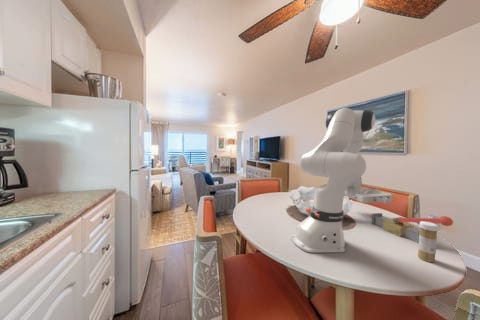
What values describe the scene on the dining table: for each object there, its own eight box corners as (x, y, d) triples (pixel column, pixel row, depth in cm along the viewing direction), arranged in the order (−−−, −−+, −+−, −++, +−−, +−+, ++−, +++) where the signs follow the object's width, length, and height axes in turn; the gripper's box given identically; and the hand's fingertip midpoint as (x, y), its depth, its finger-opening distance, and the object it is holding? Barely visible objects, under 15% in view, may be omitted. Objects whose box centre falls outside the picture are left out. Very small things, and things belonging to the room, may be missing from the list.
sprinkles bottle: (428, 256, 67) (431, 221, 66) (439, 263, 62) (442, 226, 62) (414, 254, 68) (416, 220, 67) (423, 261, 63) (426, 225, 63)
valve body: (418, 244, 75) (419, 232, 74) (369, 223, 96) (370, 213, 96) (432, 243, 76) (433, 230, 76) (381, 222, 98) (382, 212, 98)
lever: (393, 223, 86) (449, 226, 67) (391, 216, 87) (445, 216, 68) (400, 223, 87) (457, 225, 68) (398, 215, 88) (454, 215, 69)
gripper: (349, 190, 102) (371, 196, 89) (378, 188, 106) (403, 194, 93) (348, 200, 102) (371, 208, 89) (377, 198, 107) (403, 206, 93)
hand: (388, 201), depth 91 cm, fingers closed
